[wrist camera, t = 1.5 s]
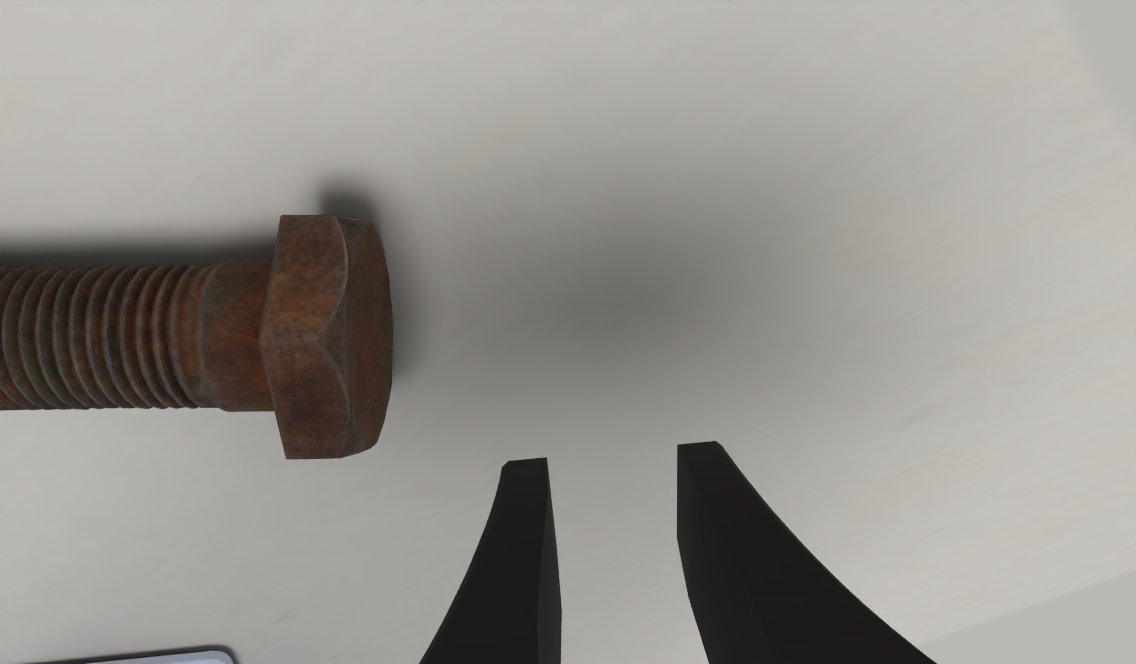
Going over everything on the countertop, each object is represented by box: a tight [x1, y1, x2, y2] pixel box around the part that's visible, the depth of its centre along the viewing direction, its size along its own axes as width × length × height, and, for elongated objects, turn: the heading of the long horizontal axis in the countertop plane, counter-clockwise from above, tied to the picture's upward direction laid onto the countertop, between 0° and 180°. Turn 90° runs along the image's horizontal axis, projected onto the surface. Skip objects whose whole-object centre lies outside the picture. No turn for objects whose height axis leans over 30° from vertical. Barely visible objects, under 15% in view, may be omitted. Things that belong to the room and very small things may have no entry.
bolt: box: [0, 215, 393, 459], centre depth 18 cm, size 6×5×15 cm
